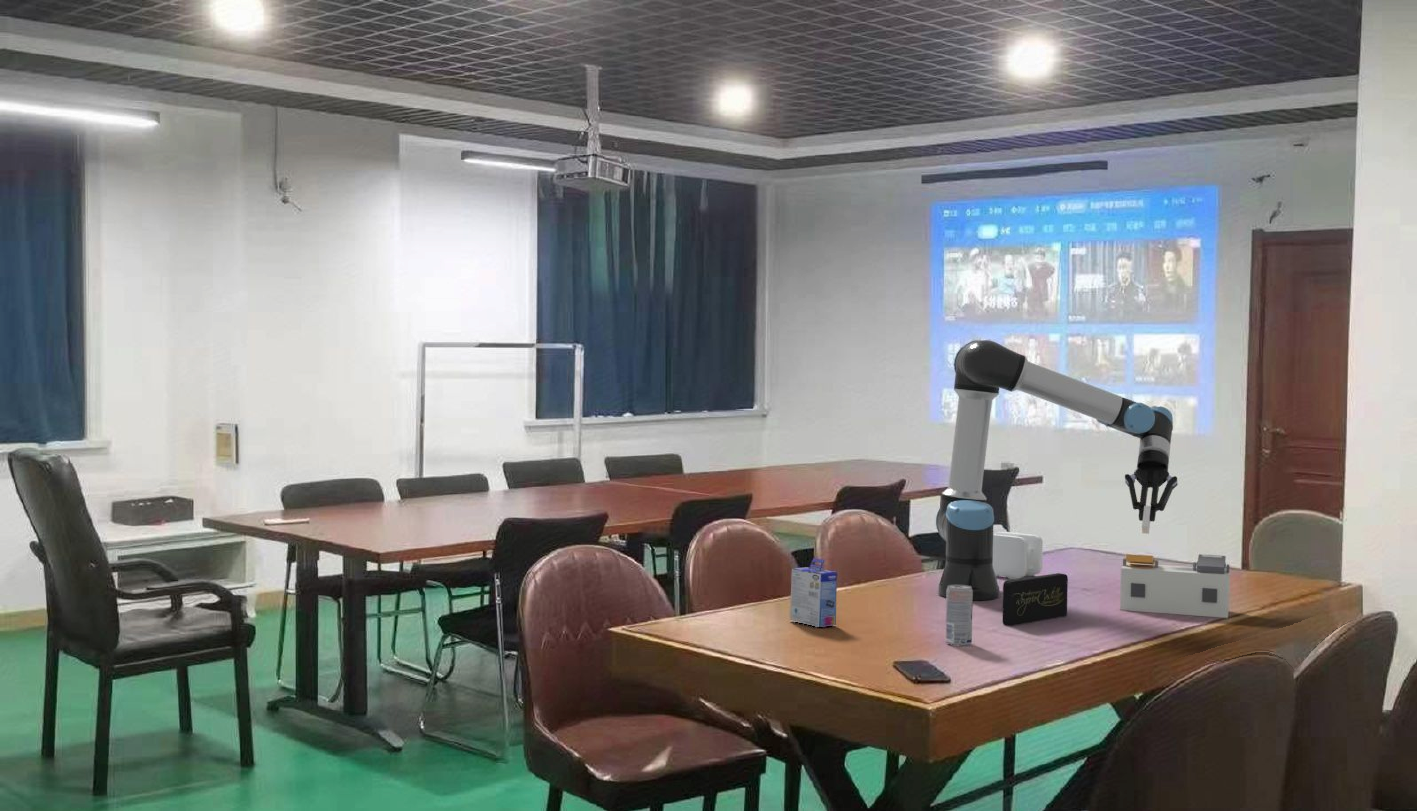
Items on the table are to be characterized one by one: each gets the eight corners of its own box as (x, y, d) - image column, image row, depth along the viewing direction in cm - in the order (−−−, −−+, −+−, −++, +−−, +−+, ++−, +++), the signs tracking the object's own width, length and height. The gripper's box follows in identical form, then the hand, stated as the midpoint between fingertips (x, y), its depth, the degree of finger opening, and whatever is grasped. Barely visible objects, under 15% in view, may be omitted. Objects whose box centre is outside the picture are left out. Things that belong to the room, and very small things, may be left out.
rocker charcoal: (1197, 560, 326) (1197, 553, 326) (1226, 562, 323) (1226, 555, 323) (1195, 571, 319) (1195, 565, 318) (1225, 573, 316) (1225, 566, 316)
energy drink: (968, 641, 285) (969, 584, 285) (974, 646, 280) (975, 588, 280) (943, 641, 285) (944, 584, 285) (948, 646, 280) (949, 588, 280)
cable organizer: (976, 574, 377) (976, 532, 377) (996, 570, 385) (997, 529, 385) (1023, 581, 367) (1024, 538, 367) (1043, 576, 375) (1044, 534, 374)
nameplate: (1009, 626, 303) (1009, 582, 302) (1002, 625, 304) (1003, 580, 304) (1067, 616, 316) (1067, 573, 315) (1060, 615, 317) (1061, 572, 317)
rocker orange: (1128, 563, 332) (1128, 556, 332) (1155, 564, 329) (1156, 557, 330) (1125, 560, 325) (1125, 553, 325) (1153, 562, 322) (1153, 555, 322)
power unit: (1124, 603, 334) (1125, 555, 333) (1228, 610, 324) (1230, 562, 324) (1120, 609, 324) (1121, 561, 324) (1227, 618, 315) (1228, 568, 314)
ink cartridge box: (837, 626, 300) (838, 561, 300) (819, 629, 297) (820, 563, 296) (806, 619, 308) (807, 555, 308) (789, 622, 304) (789, 557, 304)
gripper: (1181, 468, 347) (1174, 541, 332) (1128, 466, 352) (1118, 537, 337) (1179, 448, 342) (1172, 521, 327) (1126, 447, 347) (1116, 518, 332)
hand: (1145, 529), depth 332 cm, fingers closed
